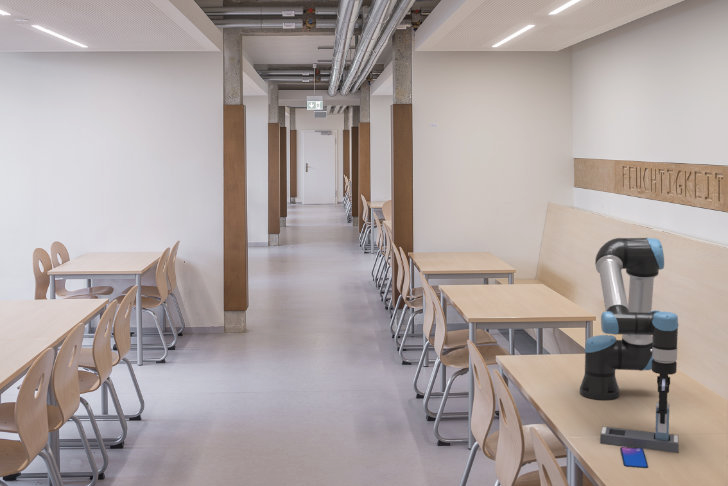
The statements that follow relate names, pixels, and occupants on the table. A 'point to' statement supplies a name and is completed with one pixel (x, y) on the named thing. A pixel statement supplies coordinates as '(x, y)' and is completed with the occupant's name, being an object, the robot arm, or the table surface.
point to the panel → (638, 439)
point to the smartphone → (633, 457)
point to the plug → (657, 434)
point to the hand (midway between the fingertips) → (662, 429)
